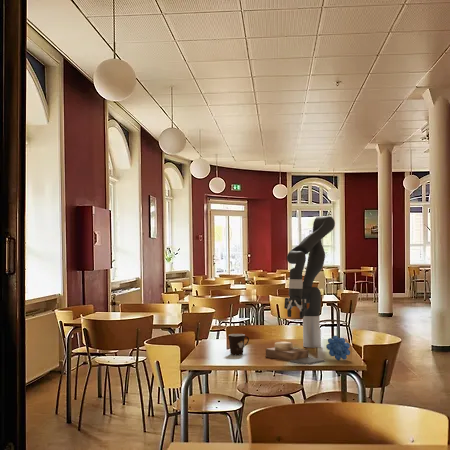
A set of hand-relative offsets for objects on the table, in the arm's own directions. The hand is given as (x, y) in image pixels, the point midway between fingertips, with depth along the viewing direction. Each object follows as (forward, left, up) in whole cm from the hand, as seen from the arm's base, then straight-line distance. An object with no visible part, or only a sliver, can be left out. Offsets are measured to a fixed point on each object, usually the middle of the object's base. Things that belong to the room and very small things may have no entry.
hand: (295, 317), depth 344 cm
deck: (+23, +14, -17) cm, 32 cm away
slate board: (+24, +29, -17) cm, 41 cm away
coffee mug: (+33, -10, -17) cm, 38 cm away
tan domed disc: (+23, +12, -13) cm, 29 cm away
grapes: (+11, +37, -18) cm, 42 cm away
